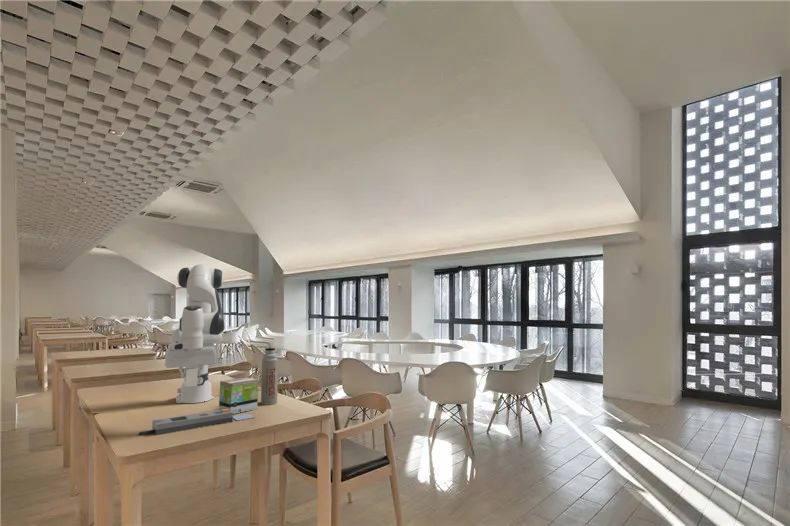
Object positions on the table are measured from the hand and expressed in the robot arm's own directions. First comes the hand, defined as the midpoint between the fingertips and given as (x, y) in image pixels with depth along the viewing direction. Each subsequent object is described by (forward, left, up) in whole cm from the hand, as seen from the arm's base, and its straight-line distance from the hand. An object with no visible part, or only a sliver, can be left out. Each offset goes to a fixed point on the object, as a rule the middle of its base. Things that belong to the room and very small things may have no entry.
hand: (190, 376), depth 192 cm
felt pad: (0, +23, -21) cm, 31 cm away
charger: (0, 0, -4) cm, 4 cm away
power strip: (0, -1, -21) cm, 21 cm away
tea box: (-14, +26, -21) cm, 36 cm away
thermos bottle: (-20, +44, -21) cm, 52 cm away
